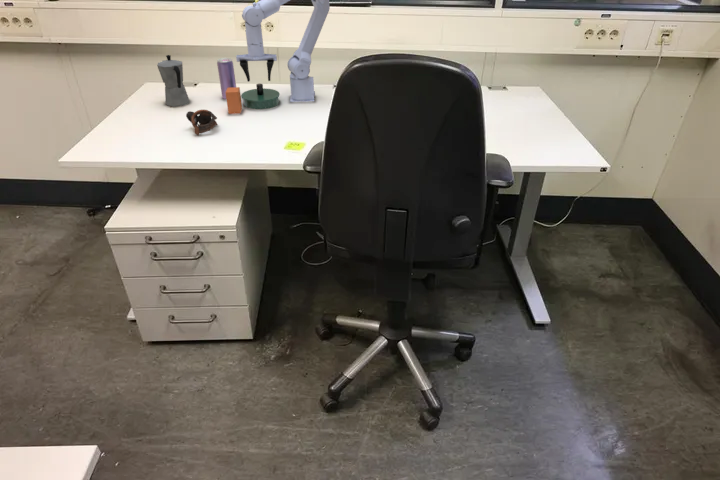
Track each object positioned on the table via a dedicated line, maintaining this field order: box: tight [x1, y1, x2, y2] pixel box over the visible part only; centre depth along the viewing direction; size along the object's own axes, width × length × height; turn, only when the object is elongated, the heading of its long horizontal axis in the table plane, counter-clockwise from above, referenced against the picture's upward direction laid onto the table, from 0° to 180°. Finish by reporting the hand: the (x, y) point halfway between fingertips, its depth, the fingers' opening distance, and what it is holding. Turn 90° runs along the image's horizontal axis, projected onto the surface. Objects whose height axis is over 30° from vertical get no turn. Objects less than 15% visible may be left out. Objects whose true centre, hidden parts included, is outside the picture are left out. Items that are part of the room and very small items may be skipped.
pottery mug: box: [185, 109, 219, 136], centre depth 170 cm, size 12×10×8 cm
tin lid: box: [240, 83, 281, 102], centre depth 190 cm, size 14×14×5 cm
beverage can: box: [216, 57, 237, 100], centre depth 195 cm, size 6×6×15 cm
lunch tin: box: [242, 96, 280, 110], centre depth 192 cm, size 13×13×4 cm
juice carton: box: [225, 86, 243, 115], centre depth 184 cm, size 4×6×8 cm
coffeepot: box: [156, 54, 190, 108], centre depth 188 cm, size 15×9×18 cm, turn 36°
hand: (259, 80), depth 188 cm, fingers open, 7 cm apart
